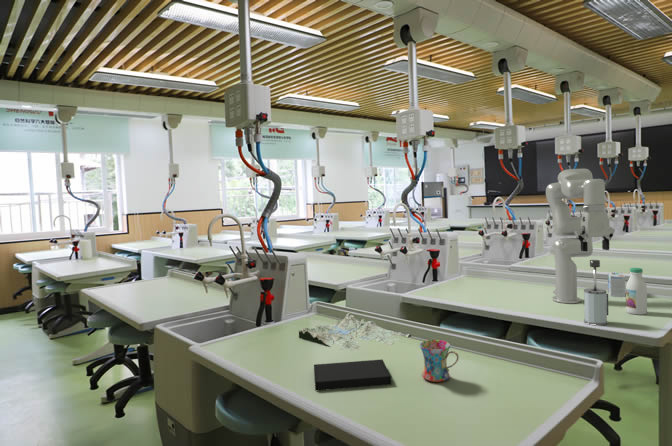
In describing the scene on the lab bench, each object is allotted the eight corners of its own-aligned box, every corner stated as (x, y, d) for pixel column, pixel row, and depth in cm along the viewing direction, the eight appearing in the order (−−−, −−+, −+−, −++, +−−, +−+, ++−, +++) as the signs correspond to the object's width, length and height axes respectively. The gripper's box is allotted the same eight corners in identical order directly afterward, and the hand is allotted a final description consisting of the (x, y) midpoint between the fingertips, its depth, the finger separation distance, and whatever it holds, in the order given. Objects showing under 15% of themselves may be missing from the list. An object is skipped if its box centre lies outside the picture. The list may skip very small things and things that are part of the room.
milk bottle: (643, 310, 196) (643, 266, 195) (649, 315, 189) (649, 269, 188) (623, 310, 199) (623, 266, 198) (629, 314, 192) (628, 269, 191)
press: (579, 320, 187) (579, 288, 186) (599, 318, 188) (599, 287, 187) (593, 326, 178) (593, 293, 178) (614, 324, 180) (614, 291, 179)
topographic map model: (411, 337, 177) (410, 325, 177) (363, 359, 157) (362, 345, 156) (347, 322, 203) (346, 312, 202) (298, 339, 182) (298, 327, 182)
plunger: (584, 295, 185) (583, 259, 184) (596, 294, 185) (596, 259, 185) (593, 298, 179) (593, 261, 178) (606, 297, 180) (605, 260, 179)
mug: (416, 380, 135) (414, 346, 134) (427, 370, 143) (426, 338, 142) (454, 388, 128) (453, 353, 128) (463, 376, 136) (462, 343, 135)
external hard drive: (391, 385, 133) (390, 376, 133) (315, 392, 131) (314, 382, 131) (382, 367, 147) (382, 359, 147) (314, 373, 145) (313, 364, 145)
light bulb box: (607, 292, 234) (607, 272, 234) (622, 292, 231) (622, 272, 231) (610, 296, 225) (610, 275, 224) (625, 297, 222) (625, 276, 221)
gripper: (581, 210, 175) (582, 252, 176) (620, 208, 177) (621, 250, 178) (568, 210, 183) (569, 250, 183) (606, 208, 185) (607, 248, 186)
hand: (595, 250), depth 181 cm, fingers open, 9 cm apart
